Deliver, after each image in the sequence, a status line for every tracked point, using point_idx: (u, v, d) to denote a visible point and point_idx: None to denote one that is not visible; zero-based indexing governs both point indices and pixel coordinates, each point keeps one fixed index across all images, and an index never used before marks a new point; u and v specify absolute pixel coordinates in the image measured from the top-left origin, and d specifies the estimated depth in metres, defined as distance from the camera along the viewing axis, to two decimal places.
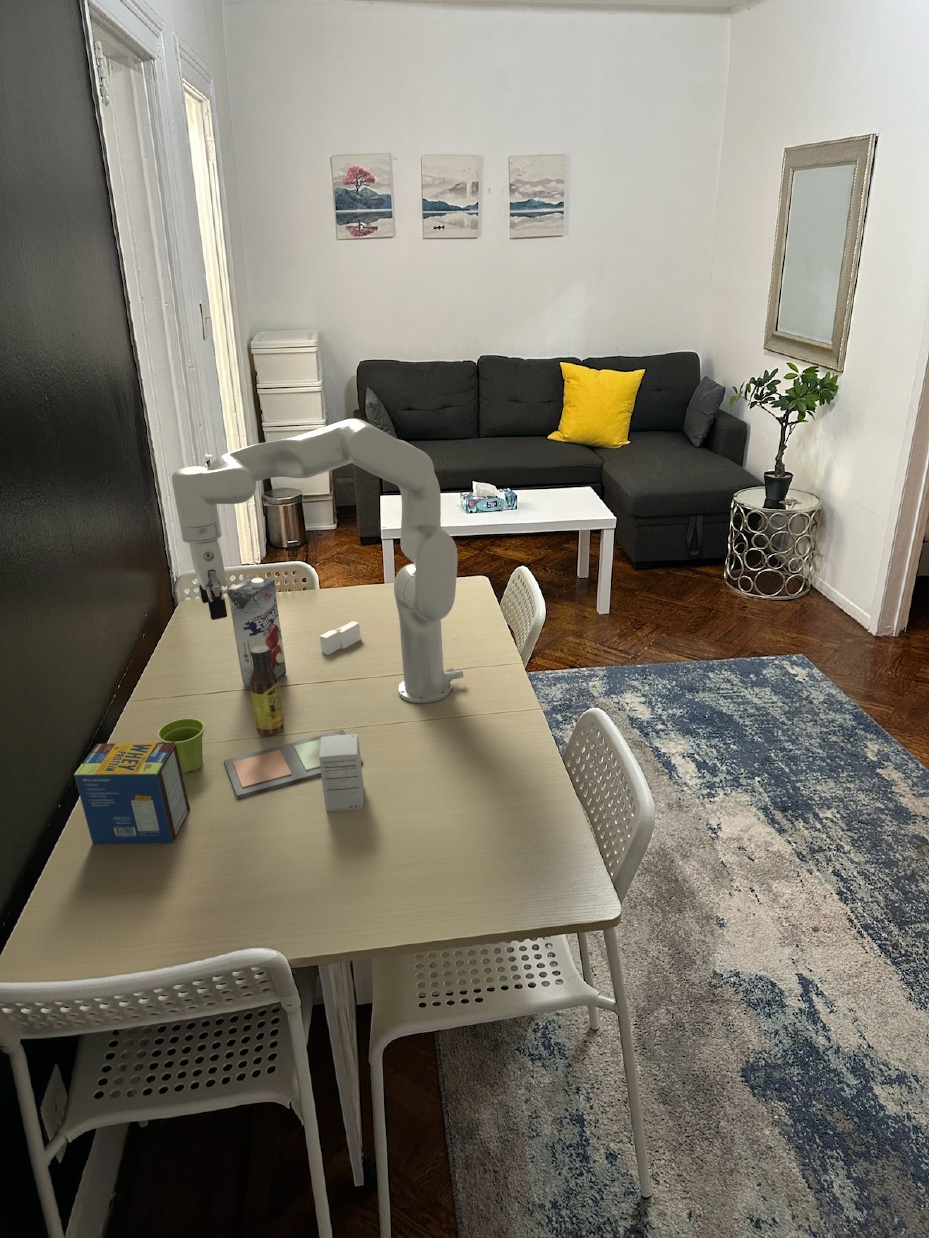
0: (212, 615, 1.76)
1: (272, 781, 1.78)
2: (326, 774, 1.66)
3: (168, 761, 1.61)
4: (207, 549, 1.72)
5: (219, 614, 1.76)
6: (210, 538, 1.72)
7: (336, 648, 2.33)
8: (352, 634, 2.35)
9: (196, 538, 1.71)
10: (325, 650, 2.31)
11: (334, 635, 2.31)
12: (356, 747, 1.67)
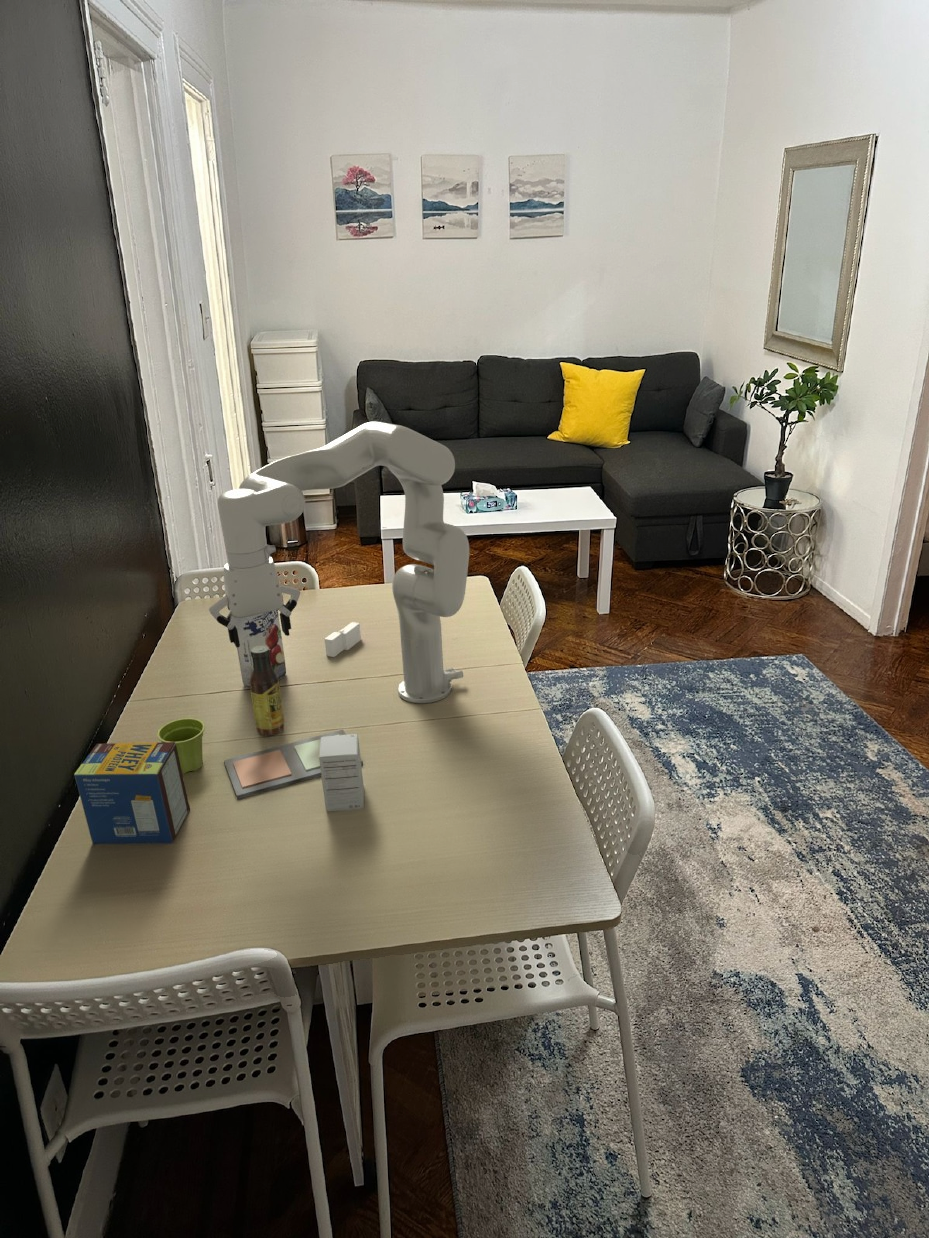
0: (288, 630, 1.72)
1: (272, 781, 1.78)
2: (326, 774, 1.66)
3: (168, 761, 1.61)
4: (274, 564, 1.67)
5: None
6: None
7: (340, 650, 2.32)
8: (354, 635, 2.35)
9: (268, 557, 1.64)
10: (330, 653, 2.29)
11: (338, 637, 2.30)
12: (356, 747, 1.67)
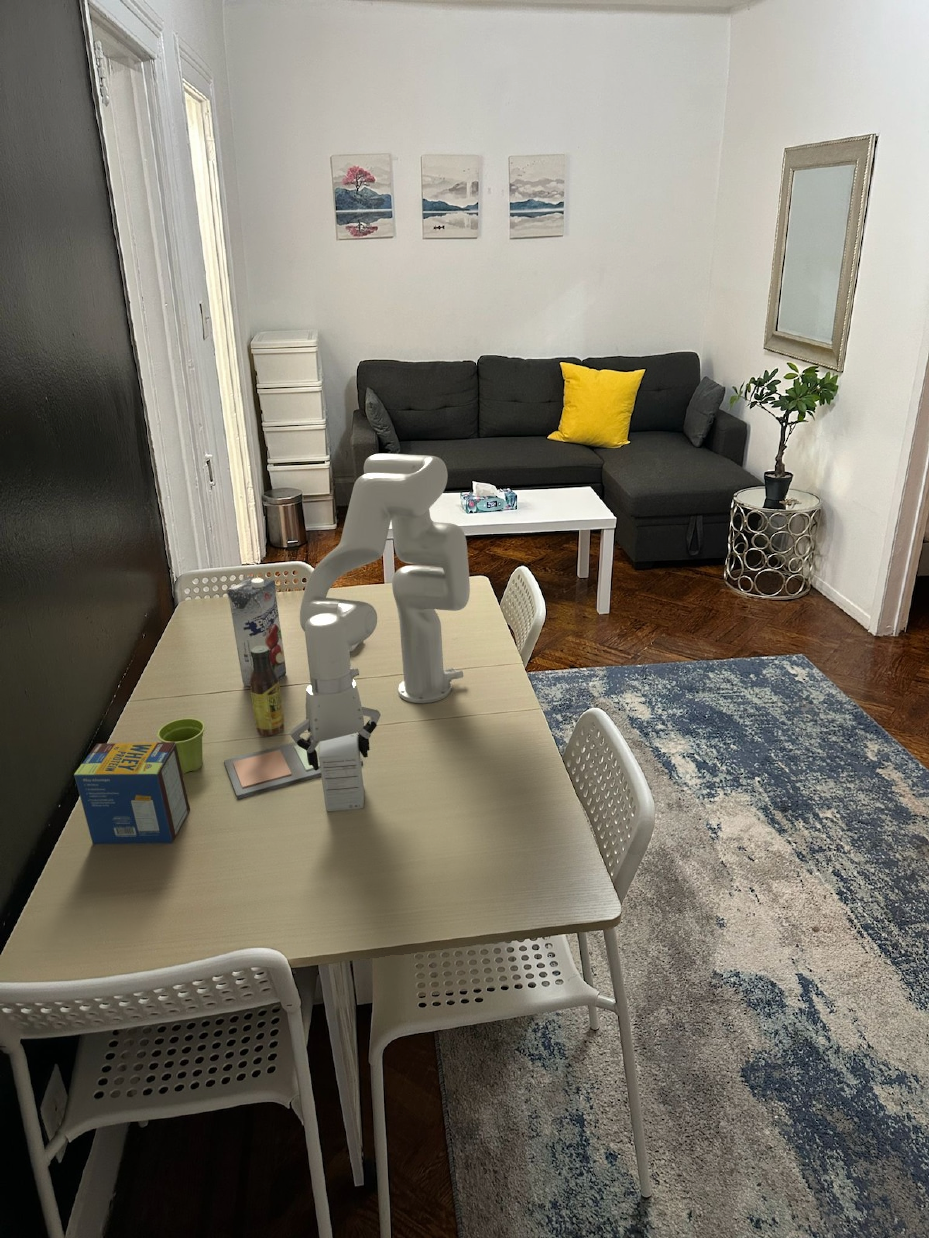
0: None
1: (272, 781, 1.78)
2: (326, 774, 1.66)
3: (168, 761, 1.61)
4: None
5: None
6: None
7: None
8: None
9: (352, 681, 1.62)
10: None
11: None
12: (356, 747, 1.67)
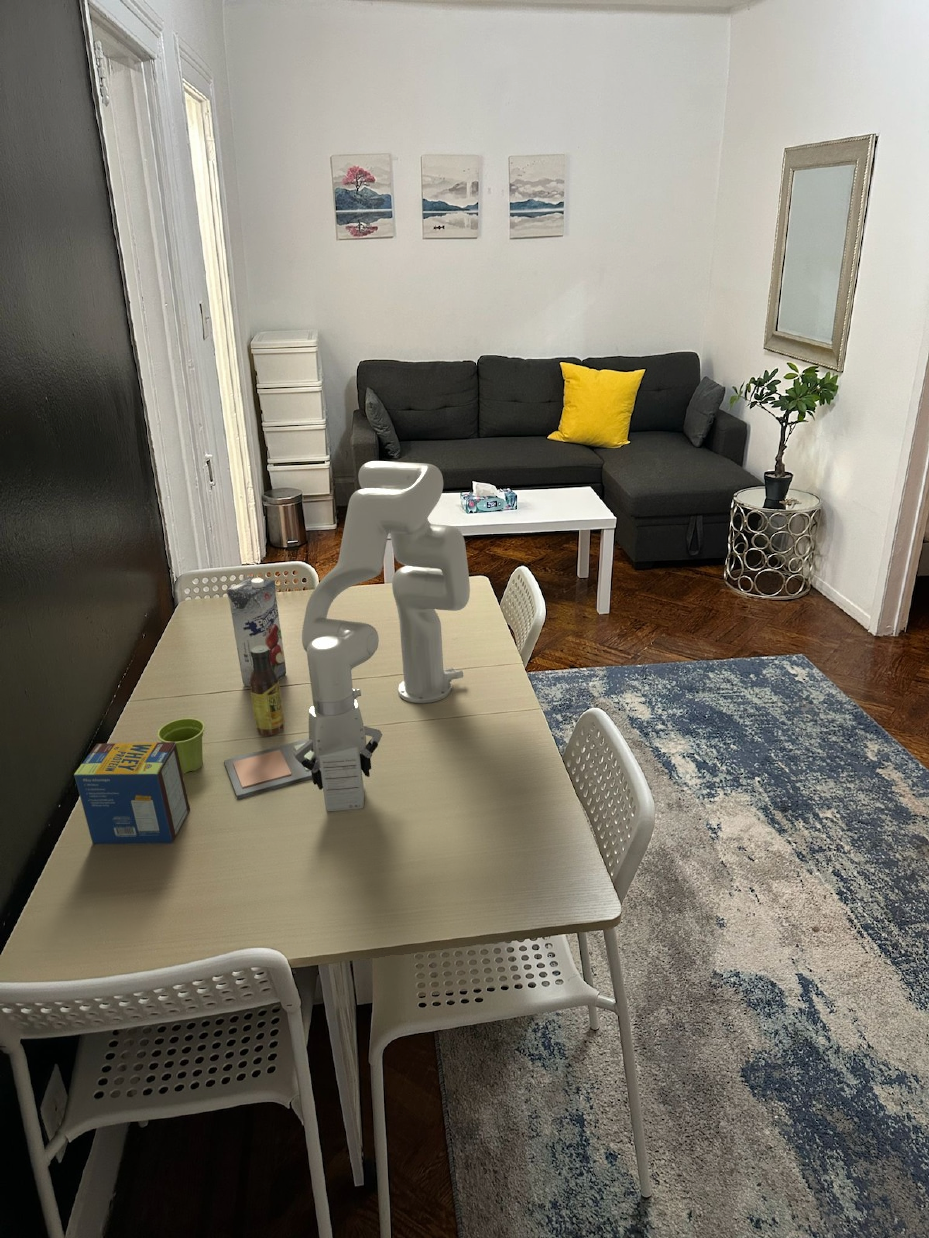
0: None
1: (272, 781, 1.78)
2: (326, 774, 1.66)
3: (168, 761, 1.61)
4: None
5: None
6: None
7: None
8: None
9: (354, 702, 1.64)
10: None
11: None
12: (356, 747, 1.67)
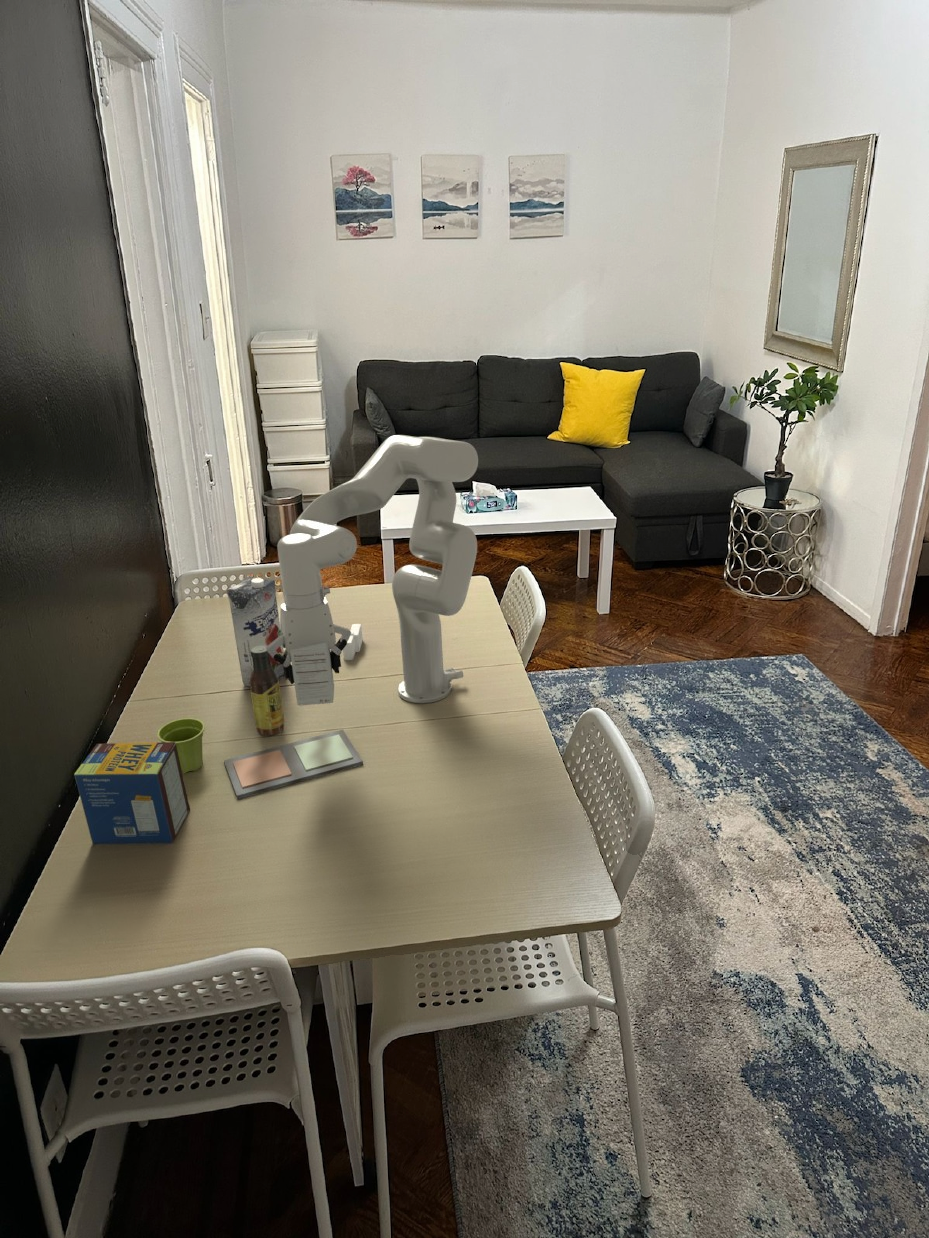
0: None
1: (272, 781, 1.78)
2: (297, 668, 1.74)
3: (168, 761, 1.61)
4: None
5: None
6: None
7: (354, 652, 2.30)
8: (360, 636, 2.34)
9: (323, 598, 1.72)
10: (349, 656, 2.27)
11: (352, 639, 2.28)
12: (325, 643, 1.75)
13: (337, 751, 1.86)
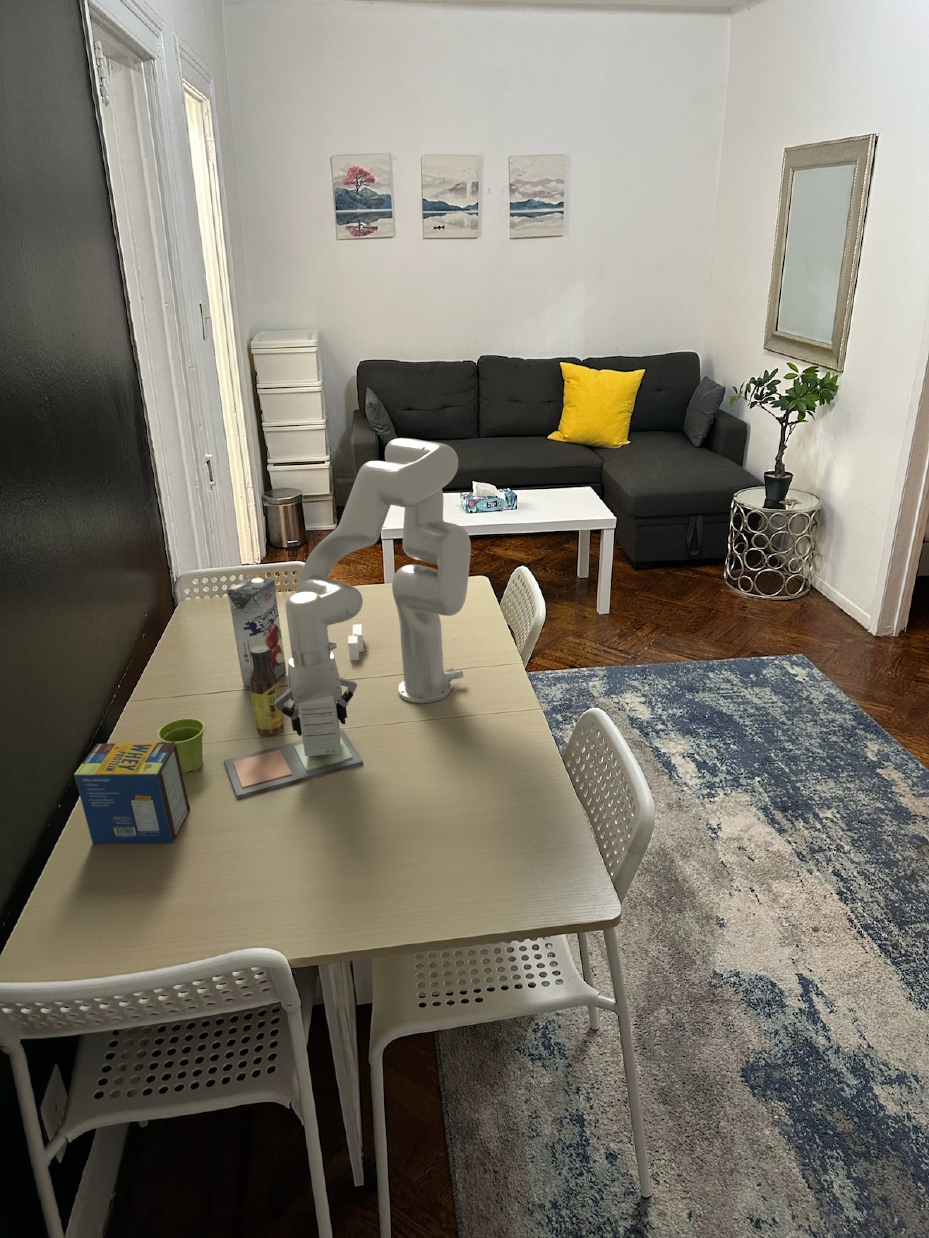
0: None
1: (272, 781, 1.78)
2: (304, 721, 1.79)
3: (168, 761, 1.61)
4: None
5: None
6: None
7: None
8: (362, 636, 2.34)
9: (330, 653, 1.77)
10: (355, 656, 2.27)
11: (357, 639, 2.28)
12: (332, 696, 1.80)
13: None
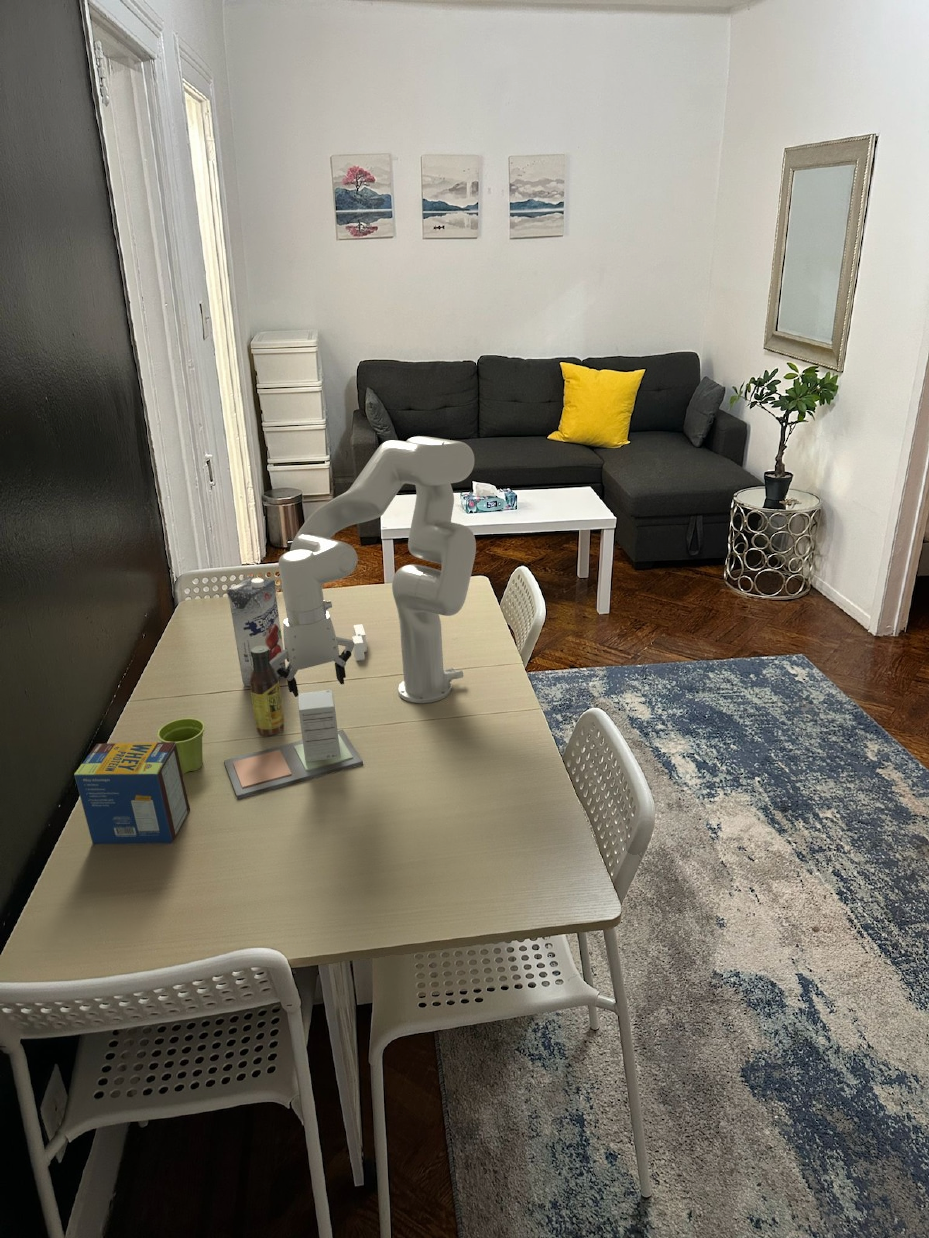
0: None
1: (272, 781, 1.78)
2: (305, 726, 1.79)
3: (168, 761, 1.61)
4: None
5: None
6: None
7: None
8: None
9: (325, 612, 1.73)
10: (361, 656, 2.27)
11: (361, 639, 2.28)
12: (332, 700, 1.81)
13: None
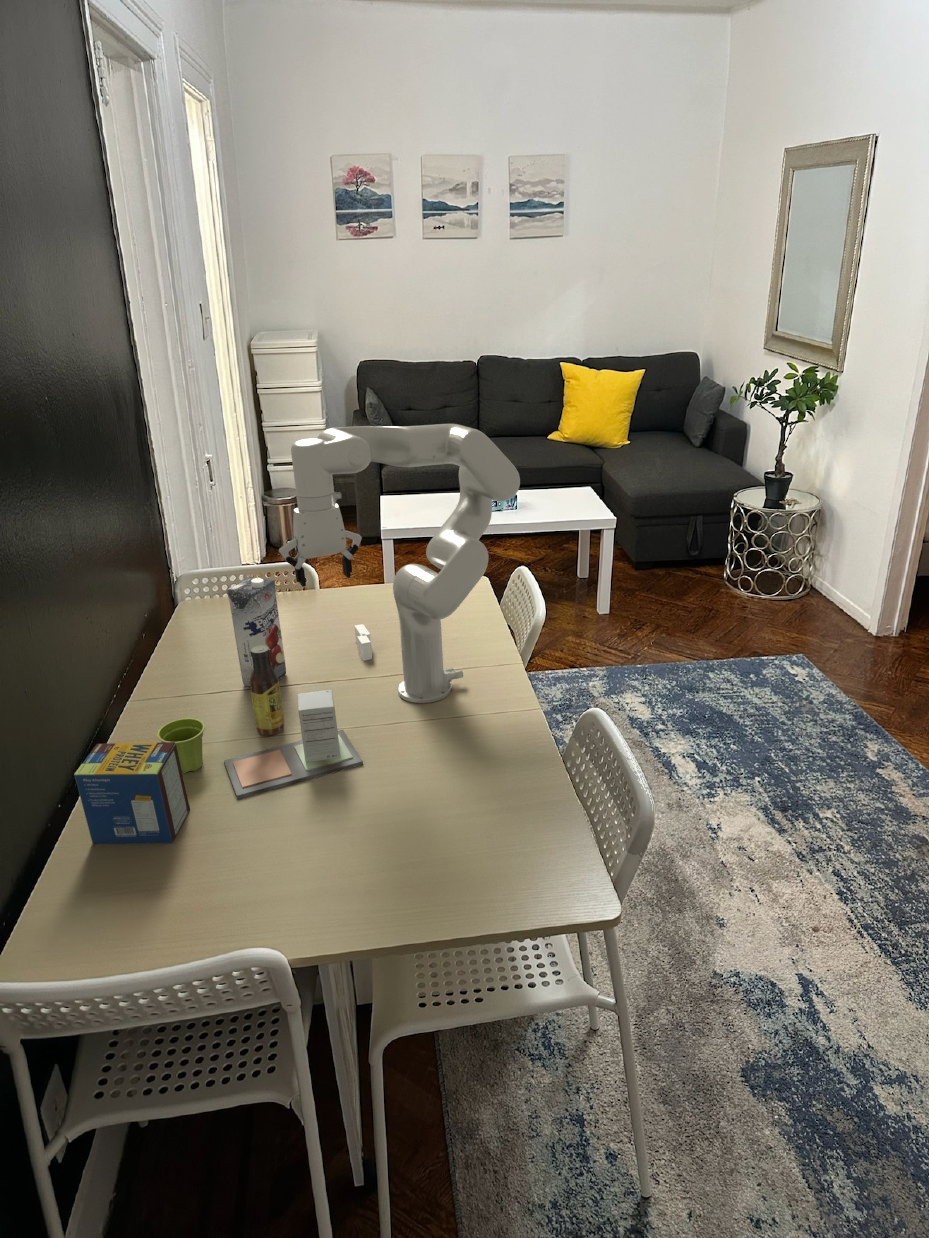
0: None
1: (272, 781, 1.78)
2: (305, 727, 1.79)
3: (168, 761, 1.61)
4: None
5: None
6: None
7: None
8: None
9: (334, 502, 1.79)
10: (368, 655, 2.27)
11: None
12: (332, 701, 1.81)
13: None
